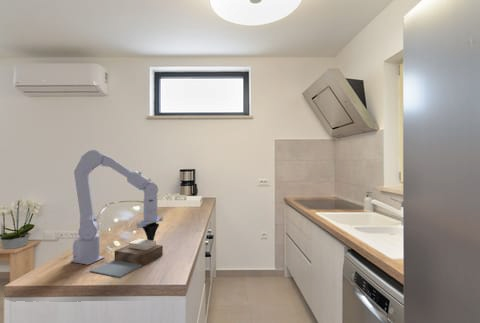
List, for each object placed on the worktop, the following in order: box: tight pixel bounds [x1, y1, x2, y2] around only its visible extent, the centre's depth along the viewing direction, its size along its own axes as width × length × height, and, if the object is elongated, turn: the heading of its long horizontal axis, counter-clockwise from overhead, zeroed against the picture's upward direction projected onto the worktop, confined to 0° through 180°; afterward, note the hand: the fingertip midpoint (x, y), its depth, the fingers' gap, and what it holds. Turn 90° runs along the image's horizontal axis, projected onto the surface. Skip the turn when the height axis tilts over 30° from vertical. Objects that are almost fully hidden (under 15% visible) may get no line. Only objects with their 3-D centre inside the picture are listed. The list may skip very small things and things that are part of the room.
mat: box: [89, 259, 143, 278], centre depth 97 cm, size 14×11×1 cm
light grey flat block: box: [128, 238, 157, 250], centre depth 110 cm, size 9×6×2 cm, turn 69°
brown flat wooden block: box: [113, 244, 164, 267], centre depth 108 cm, size 14×12×4 cm
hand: (150, 240), depth 115 cm, fingers closed
